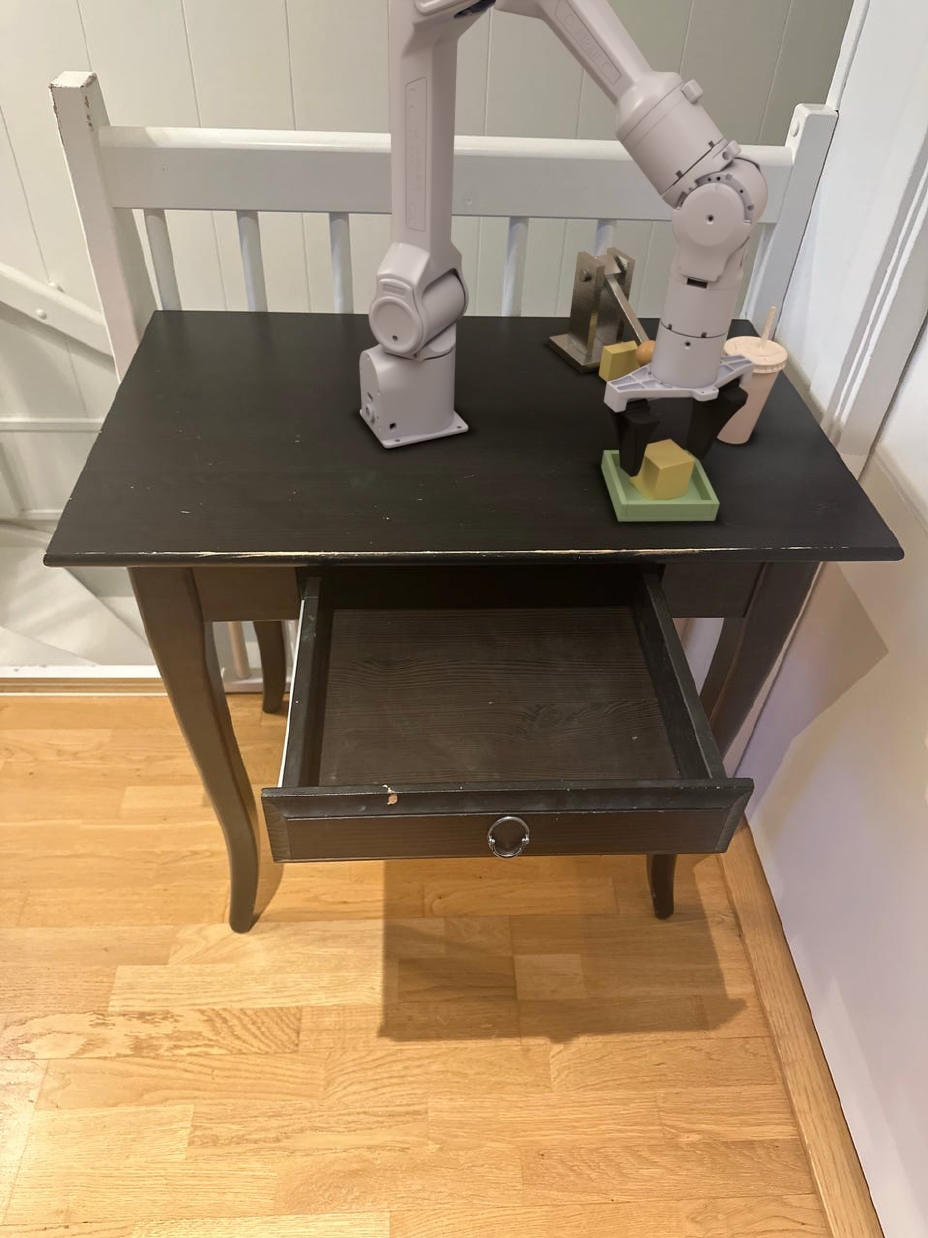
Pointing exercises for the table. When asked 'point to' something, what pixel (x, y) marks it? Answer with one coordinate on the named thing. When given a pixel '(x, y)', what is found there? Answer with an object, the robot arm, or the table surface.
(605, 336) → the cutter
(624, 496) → the dish
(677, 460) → the yellow cube
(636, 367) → the butter block
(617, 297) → the cutter lever
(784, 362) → the smoothie
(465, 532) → the table surface
